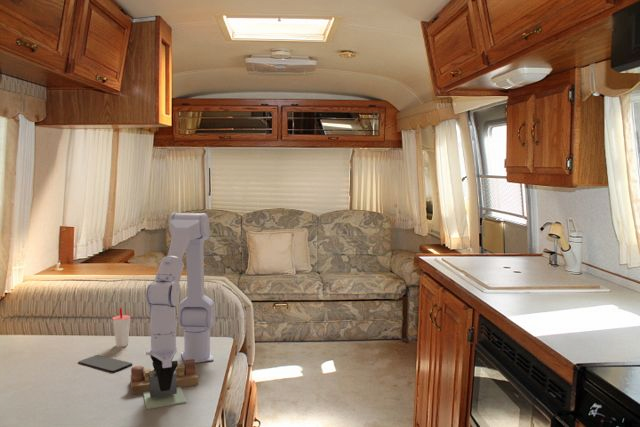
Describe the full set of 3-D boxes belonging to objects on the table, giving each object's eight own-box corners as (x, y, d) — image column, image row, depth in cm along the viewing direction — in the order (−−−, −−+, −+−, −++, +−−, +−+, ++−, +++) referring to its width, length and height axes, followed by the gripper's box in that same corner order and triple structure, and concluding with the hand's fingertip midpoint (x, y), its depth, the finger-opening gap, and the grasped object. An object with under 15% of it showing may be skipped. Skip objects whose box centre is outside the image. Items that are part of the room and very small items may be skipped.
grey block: (149, 391, 124) (148, 367, 124) (174, 387, 127) (174, 364, 126) (150, 397, 121) (150, 374, 120) (176, 393, 123) (176, 370, 122)
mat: (143, 393, 126) (143, 392, 126) (180, 388, 130) (180, 386, 130) (146, 409, 118) (146, 407, 118) (186, 402, 122) (186, 401, 121)
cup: (113, 349, 158) (112, 310, 157) (112, 343, 162) (111, 306, 161) (131, 346, 160) (130, 309, 159) (130, 341, 165) (129, 304, 164)
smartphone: (97, 354, 152) (133, 363, 145) (97, 357, 152) (133, 366, 145) (76, 361, 146) (112, 371, 139) (77, 364, 146) (113, 374, 139)
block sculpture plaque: (130, 382, 133) (130, 363, 133) (193, 373, 139) (193, 355, 139) (132, 394, 126) (132, 374, 125) (198, 384, 132) (198, 365, 132)
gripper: (143, 324, 128) (144, 377, 129) (148, 342, 114) (149, 401, 115) (172, 321, 130) (173, 373, 131) (180, 338, 117) (181, 396, 118)
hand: (164, 386), depth 124 cm, fingers closed on grey block, 4 cm apart
